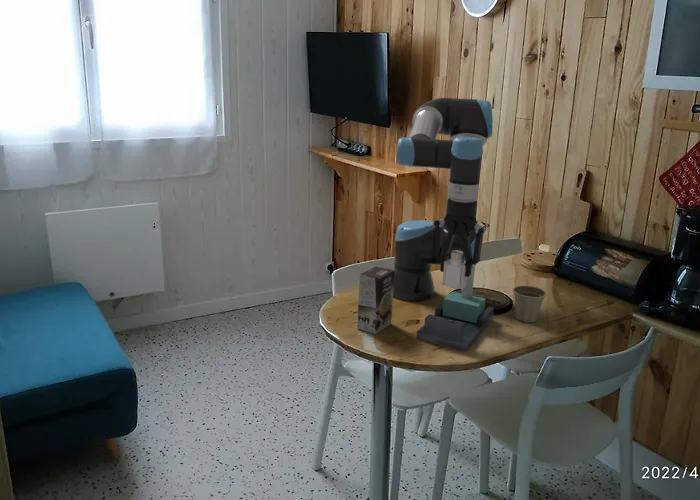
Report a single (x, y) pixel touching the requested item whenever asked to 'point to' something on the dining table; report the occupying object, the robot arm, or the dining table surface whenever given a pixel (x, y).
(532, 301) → the flower pot
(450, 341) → the tray
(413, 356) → the dining table surface
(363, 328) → the coffee box
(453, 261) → the pepper shaker
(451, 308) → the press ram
